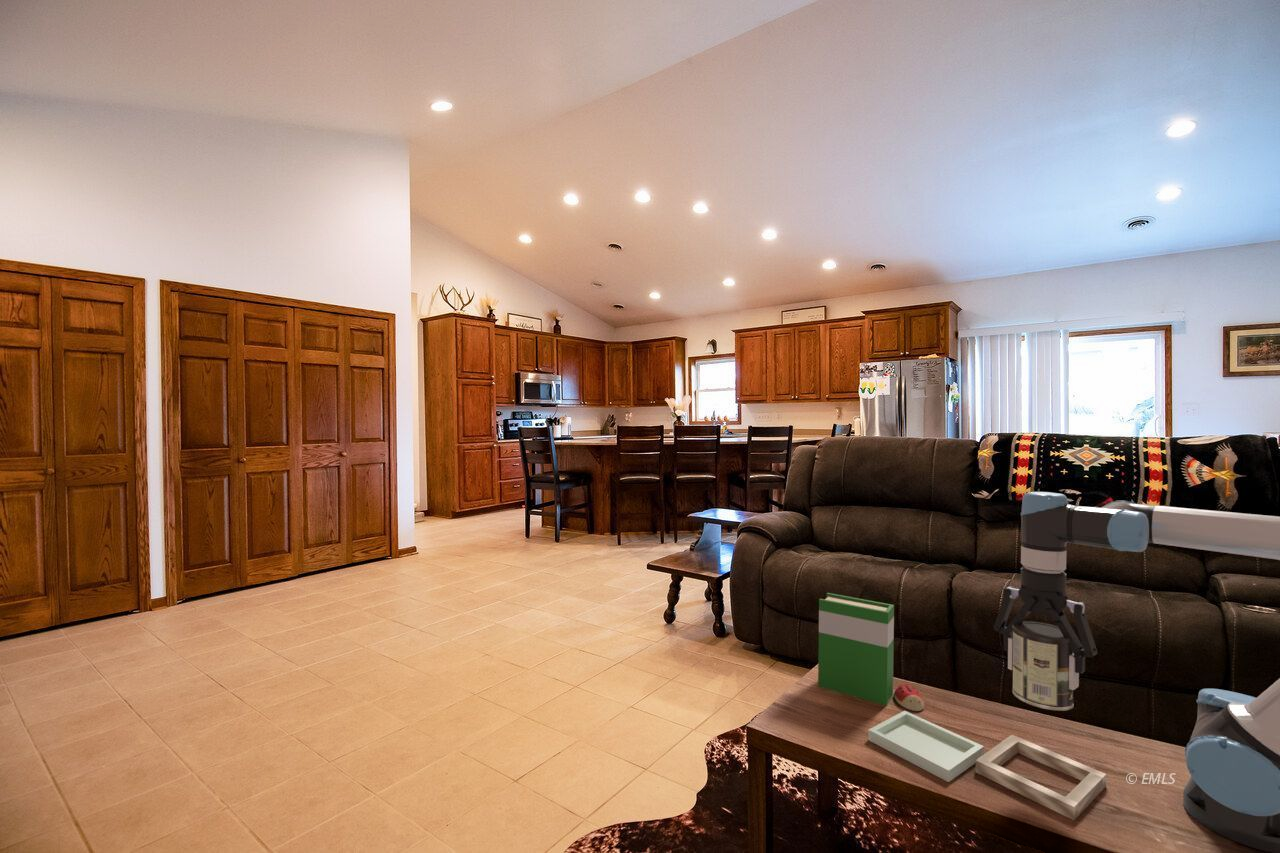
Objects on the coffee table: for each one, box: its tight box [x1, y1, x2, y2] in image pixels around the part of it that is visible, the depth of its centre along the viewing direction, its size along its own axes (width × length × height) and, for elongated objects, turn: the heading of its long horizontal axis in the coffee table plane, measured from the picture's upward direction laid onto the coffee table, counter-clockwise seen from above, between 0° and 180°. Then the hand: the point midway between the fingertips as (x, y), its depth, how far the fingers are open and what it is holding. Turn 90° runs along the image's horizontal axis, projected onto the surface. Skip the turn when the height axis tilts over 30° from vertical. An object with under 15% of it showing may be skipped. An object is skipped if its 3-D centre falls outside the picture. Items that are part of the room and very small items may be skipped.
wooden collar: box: [975, 734, 1107, 821], centre depth 114 cm, size 17×17×2 cm
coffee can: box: [1012, 620, 1074, 712], centre depth 114 cm, size 10×10×14 cm
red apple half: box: [893, 683, 925, 712], centre depth 146 cm, size 7×10×4 cm
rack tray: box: [867, 710, 985, 783], centre depth 125 cm, size 18×15×2 cm
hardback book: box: [817, 592, 895, 707], centre depth 152 cm, size 18×7×24 cm, turn 55°
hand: (1042, 677), depth 114 cm, fingers closed on coffee can, 10 cm apart
